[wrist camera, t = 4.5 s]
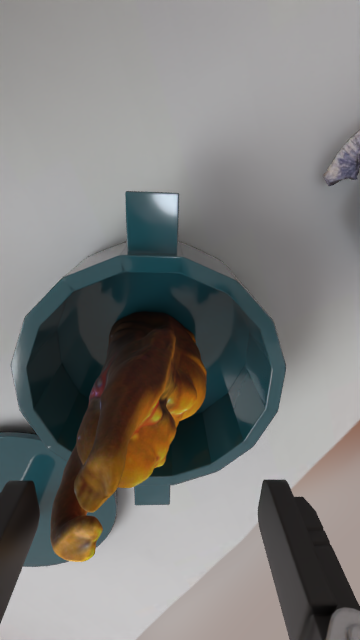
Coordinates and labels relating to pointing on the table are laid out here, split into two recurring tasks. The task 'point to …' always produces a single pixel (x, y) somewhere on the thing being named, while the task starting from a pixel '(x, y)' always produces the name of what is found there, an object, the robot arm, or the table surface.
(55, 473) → the lid
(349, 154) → the seashell
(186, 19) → the table surface
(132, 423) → the figurine
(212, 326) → the pot
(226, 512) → the table surface
